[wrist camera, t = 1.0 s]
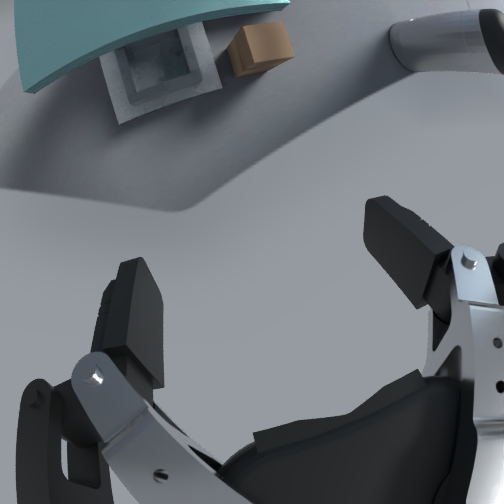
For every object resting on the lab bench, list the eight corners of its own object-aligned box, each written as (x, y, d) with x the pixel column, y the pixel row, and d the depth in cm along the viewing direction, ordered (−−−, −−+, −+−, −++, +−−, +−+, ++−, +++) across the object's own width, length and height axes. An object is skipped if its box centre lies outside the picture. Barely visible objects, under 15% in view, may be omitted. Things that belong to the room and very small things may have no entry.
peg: (258, 42, 25) (283, 21, 18) (267, 70, 27) (294, 56, 20) (226, 48, 25) (242, 26, 18) (235, 77, 27) (254, 62, 20)
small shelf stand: (196, -2, 21) (233, -111, 3) (225, 88, 27) (301, 35, 10) (91, 33, 19) (17, -44, 2) (116, 126, 26) (32, 127, 8)
